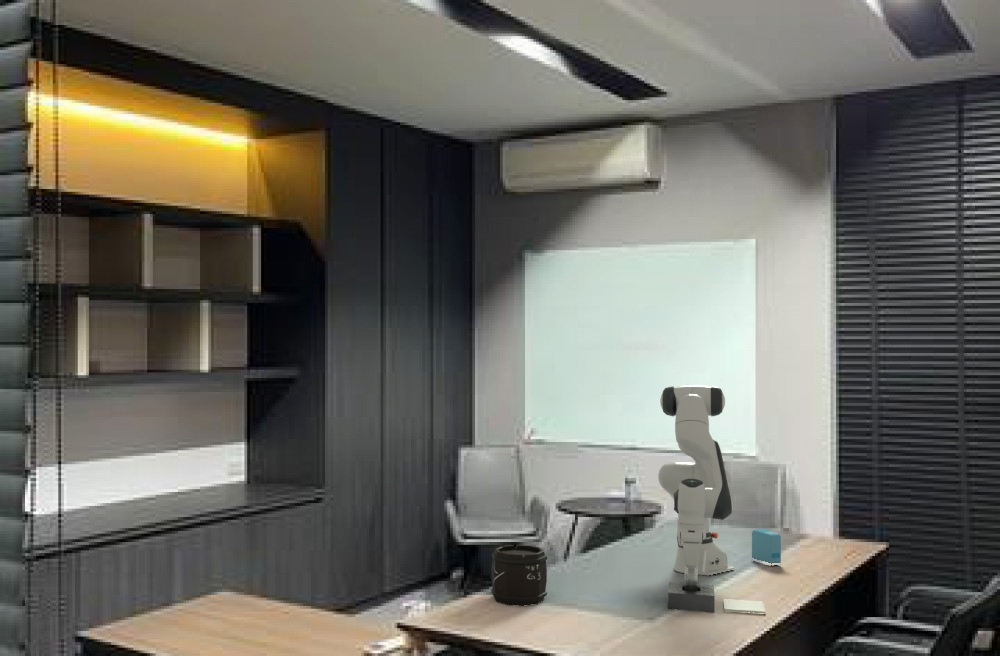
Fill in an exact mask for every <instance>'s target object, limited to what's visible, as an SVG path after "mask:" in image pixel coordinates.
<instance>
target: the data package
mask: <svg viewBox="0 0 1000 656" xmlns="http://www.w3.org/2000/svg"><path fill="white" fill-rule="evenodd" d="M781 549H782V537H781V535H780V533H777V532H774V531H771V530H768V529H763V528H762V529H760V528H759V529H753V530H752V532H751V559H752V558H754V559H757V560H761V561H765V562H768V563H771V564H772V563H782V562H781V561H782V560H781V559H782V557H781V555H782V554H781V553H782V550H781Z"/></svg>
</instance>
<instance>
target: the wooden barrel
mask: <svg viewBox="0 0 1000 656" xmlns="http://www.w3.org/2000/svg"><path fill="white" fill-rule="evenodd" d="M491 558H492V561H491V562H492V563H491V570H490V573H491V586H492V587H491V589H490V592H491V594H492V596H493V599H494V600H495V602H496V603H498V604H502V605H506V606H513V605H519V606H518V607H525V606H524V605H528V606H532V605H531V604H536V605H538V603H539V602H540V603H542V602H543V601H544V600H545V597H547V594H548V592H547V591H546V589H547V581H548V580H547V578H548V573H547V572H548V569H547V568H548V567H547V560H548V556H547V554H546V553H545V551H544V550H543V549H542V547H540V546H535V545H528V544H516V545H515V546H514V544H509V545H503V546H499V547H495V548H494V551H493V552H492V553H491ZM541 601H542V602H541ZM540 603H539V604H540Z"/></svg>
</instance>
